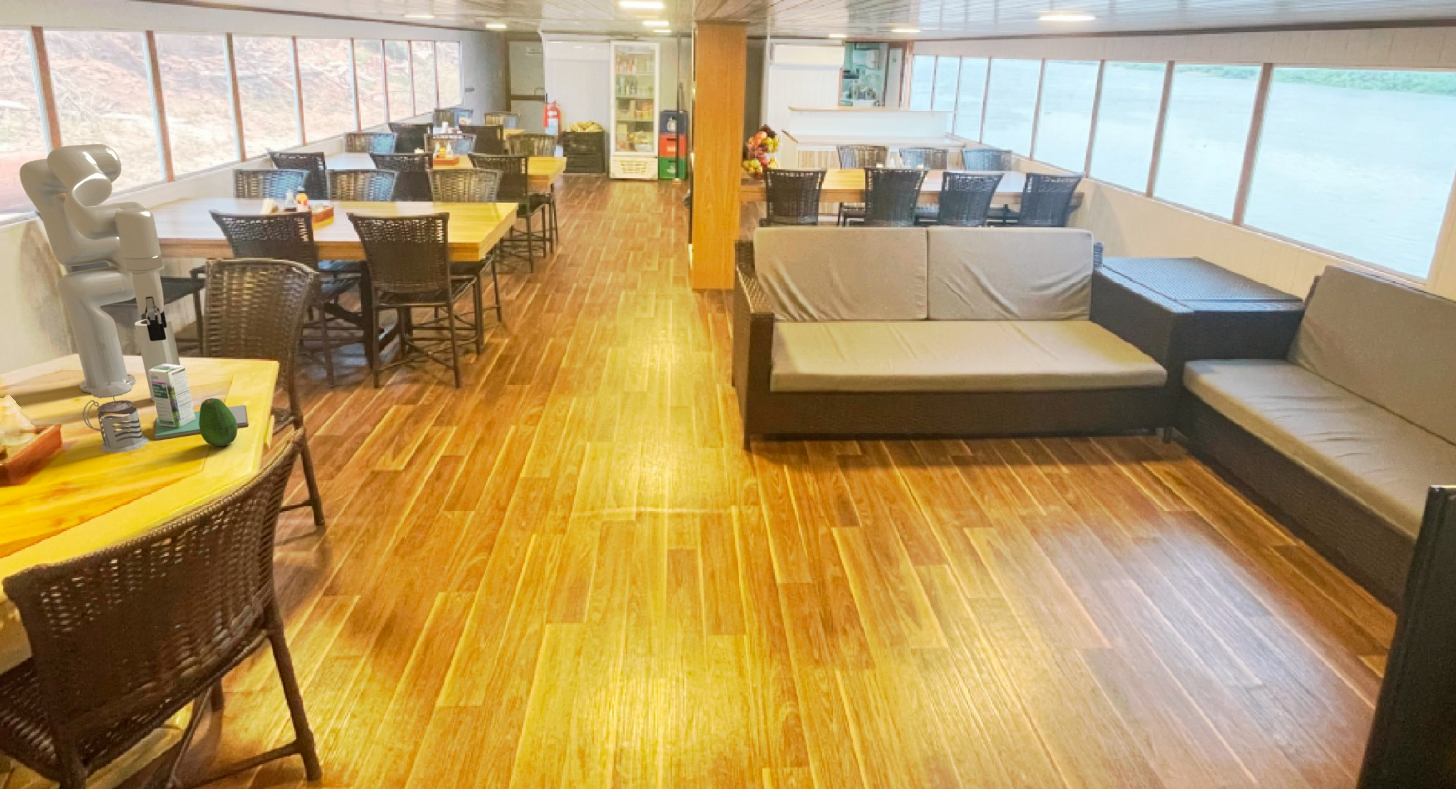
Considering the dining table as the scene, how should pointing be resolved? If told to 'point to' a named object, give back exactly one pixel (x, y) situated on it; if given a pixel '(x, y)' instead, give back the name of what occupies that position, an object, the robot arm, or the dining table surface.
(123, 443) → the french press
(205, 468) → the dining table surface
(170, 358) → the paper towel roll
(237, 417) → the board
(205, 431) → the avocado
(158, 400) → the syrup box
